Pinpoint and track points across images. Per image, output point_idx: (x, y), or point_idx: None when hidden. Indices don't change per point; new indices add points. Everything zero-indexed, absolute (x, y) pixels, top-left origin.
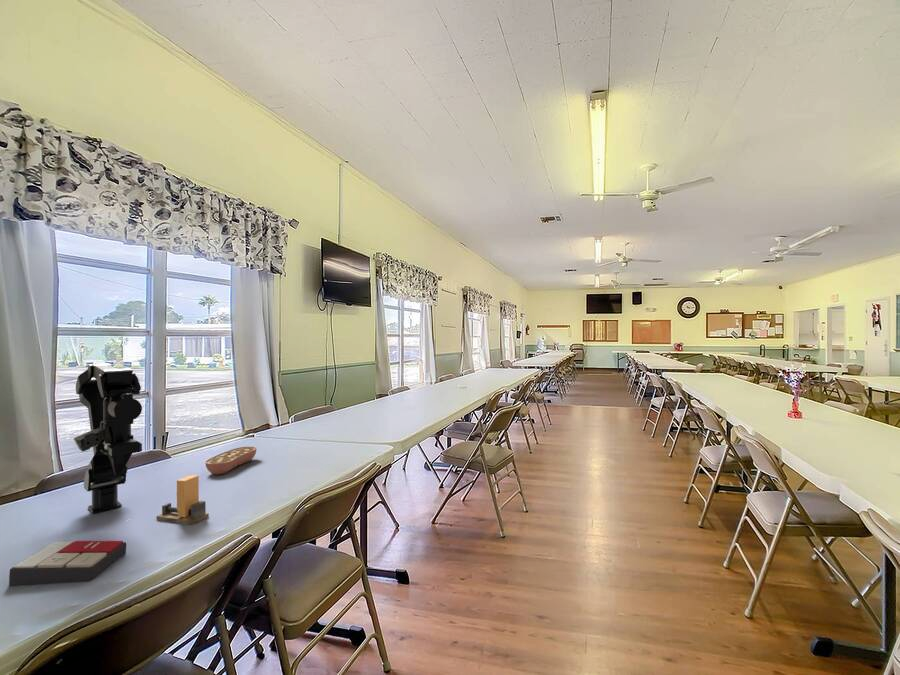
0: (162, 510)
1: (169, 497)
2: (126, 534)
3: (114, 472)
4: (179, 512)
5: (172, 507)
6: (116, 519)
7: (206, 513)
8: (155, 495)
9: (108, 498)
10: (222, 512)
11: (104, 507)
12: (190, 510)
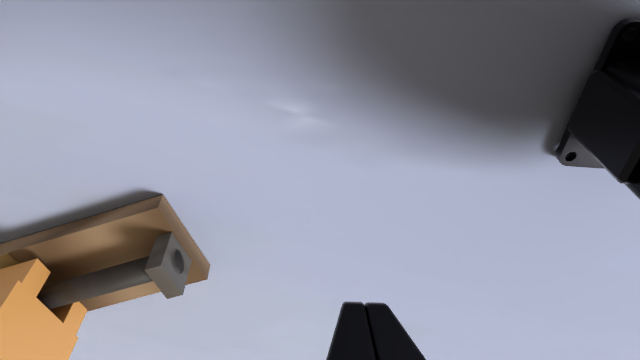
0: (165, 245)
1: (441, 311)
2: (41, 30)
3: (374, 339)
4: (16, 278)
5: (127, 283)
6: (370, 76)
7: None
8: (538, 290)
9: (614, 134)
10: None
11: (592, 86)
12: None
